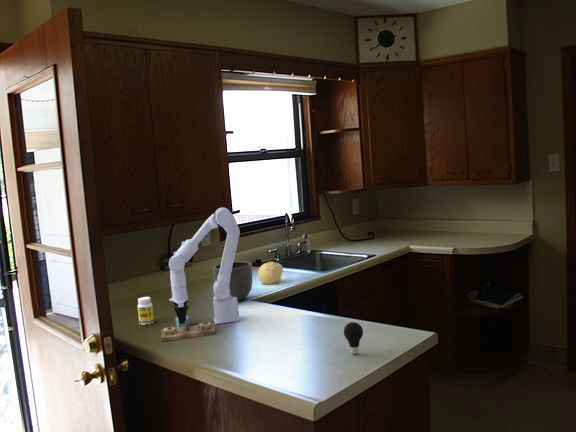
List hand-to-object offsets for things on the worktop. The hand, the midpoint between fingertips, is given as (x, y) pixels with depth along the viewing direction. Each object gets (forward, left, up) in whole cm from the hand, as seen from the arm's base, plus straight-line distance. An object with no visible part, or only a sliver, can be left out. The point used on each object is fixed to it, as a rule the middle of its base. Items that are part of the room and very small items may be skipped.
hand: (182, 320), depth 212 cm
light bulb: (-50, +57, -2) cm, 76 cm away
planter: (-24, -28, -2) cm, 37 cm away
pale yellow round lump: (-45, -53, -2) cm, 70 cm away
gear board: (-2, +11, -2) cm, 11 cm away
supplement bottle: (+14, -11, -2) cm, 18 cm away
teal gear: (0, 0, -2) cm, 2 cm away
